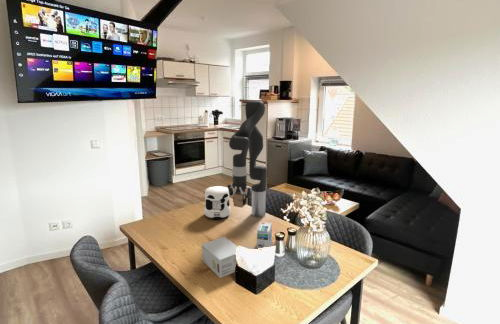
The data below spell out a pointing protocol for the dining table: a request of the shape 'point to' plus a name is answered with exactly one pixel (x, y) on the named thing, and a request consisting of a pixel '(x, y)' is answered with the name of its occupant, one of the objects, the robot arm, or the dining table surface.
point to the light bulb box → (264, 235)
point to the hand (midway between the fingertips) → (239, 203)
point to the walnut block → (238, 200)
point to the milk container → (217, 202)
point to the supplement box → (220, 256)
